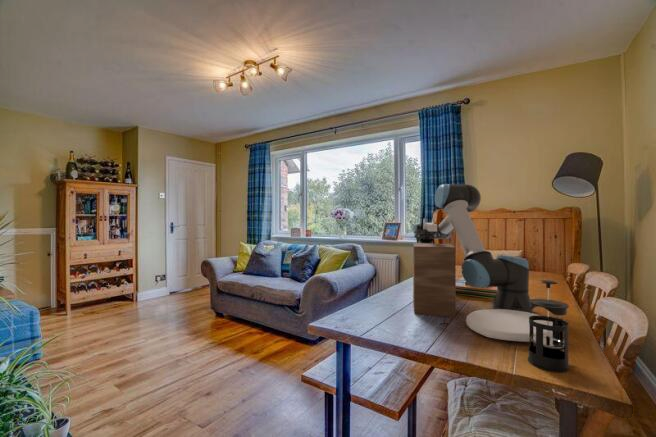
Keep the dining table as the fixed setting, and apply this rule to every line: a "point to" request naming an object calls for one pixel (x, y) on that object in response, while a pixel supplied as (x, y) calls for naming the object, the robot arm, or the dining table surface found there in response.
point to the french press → (548, 347)
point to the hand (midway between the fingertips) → (428, 220)
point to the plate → (504, 324)
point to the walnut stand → (434, 279)
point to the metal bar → (431, 227)
